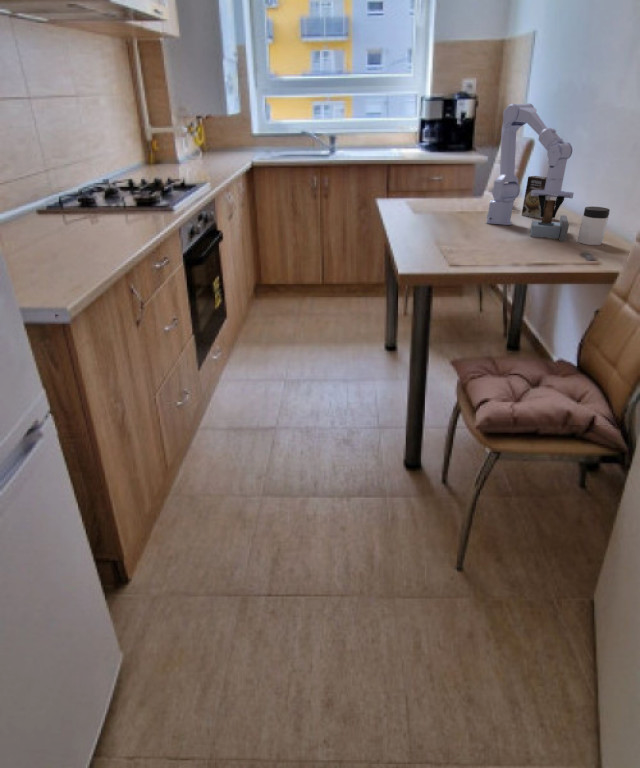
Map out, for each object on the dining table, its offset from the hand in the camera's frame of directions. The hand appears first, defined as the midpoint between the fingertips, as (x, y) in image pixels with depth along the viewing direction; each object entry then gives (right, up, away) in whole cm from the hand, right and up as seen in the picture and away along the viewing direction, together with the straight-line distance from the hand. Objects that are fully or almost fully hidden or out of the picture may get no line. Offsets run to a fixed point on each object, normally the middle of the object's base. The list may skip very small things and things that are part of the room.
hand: (547, 216), depth 215 cm
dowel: (0, -2, +1) cm, 2 cm away
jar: (+12, -11, -7) cm, 18 cm away
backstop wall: (+6, -7, +1) cm, 9 cm away
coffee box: (+8, +10, +35) cm, 37 cm away
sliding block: (0, -6, +3) cm, 7 cm away
